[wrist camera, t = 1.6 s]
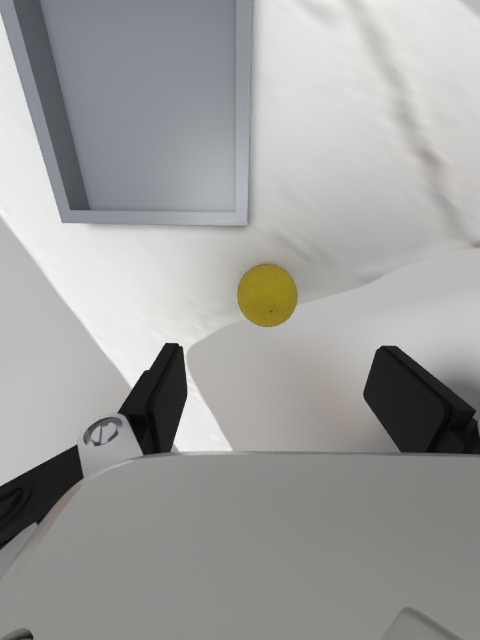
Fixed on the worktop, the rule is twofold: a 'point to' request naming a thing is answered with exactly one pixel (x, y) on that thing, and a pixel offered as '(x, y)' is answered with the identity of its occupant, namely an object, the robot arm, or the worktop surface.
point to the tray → (139, 106)
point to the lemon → (267, 295)
